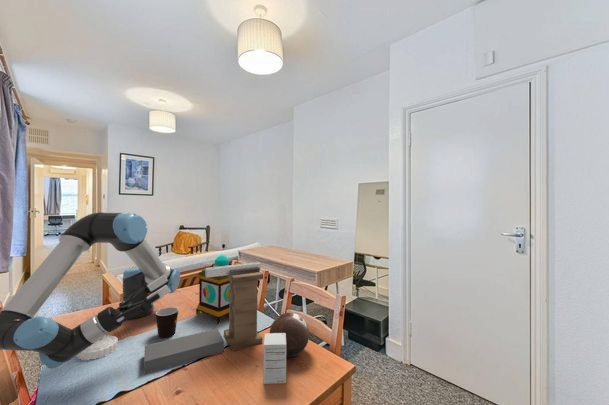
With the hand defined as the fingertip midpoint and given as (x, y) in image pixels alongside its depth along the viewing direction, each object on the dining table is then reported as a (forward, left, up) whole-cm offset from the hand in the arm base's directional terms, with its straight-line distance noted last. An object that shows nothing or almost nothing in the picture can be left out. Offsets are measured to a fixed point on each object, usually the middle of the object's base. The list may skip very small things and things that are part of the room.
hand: (167, 282), depth 94 cm
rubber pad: (0, +6, -28) cm, 28 cm away
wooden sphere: (+19, +40, -28) cm, 52 cm away
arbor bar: (0, +24, 0) cm, 24 cm away
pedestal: (0, +28, -28) cm, 39 cm away
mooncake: (-18, -22, -28) cm, 40 cm away
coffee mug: (-20, +2, -28) cm, 34 cm away
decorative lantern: (-29, +26, -28) cm, 48 cm away
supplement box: (+28, +30, -28) cm, 50 cm away
